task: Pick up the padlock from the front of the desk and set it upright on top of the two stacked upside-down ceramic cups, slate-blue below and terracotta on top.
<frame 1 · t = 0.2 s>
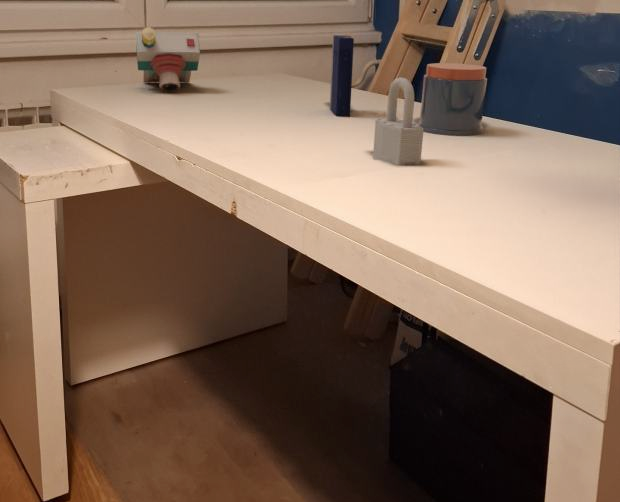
toy camera: (168, 89, 146), on the table
padlock: (395, 167, 91), on the table
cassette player: (339, 113, 125), on the table
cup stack: (449, 129, 114), on the table
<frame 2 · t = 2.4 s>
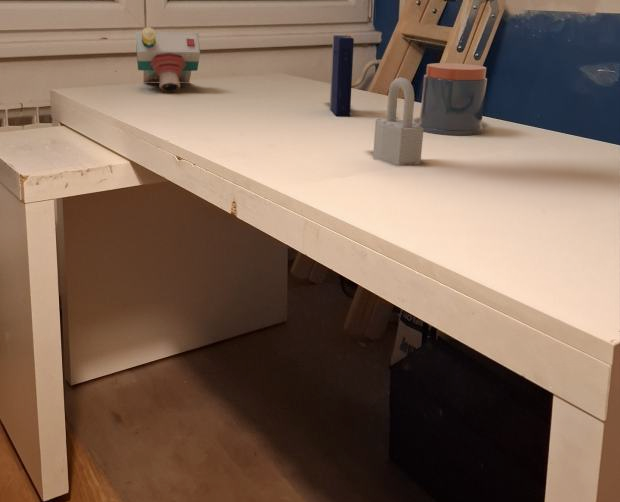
nothing on the table moved.
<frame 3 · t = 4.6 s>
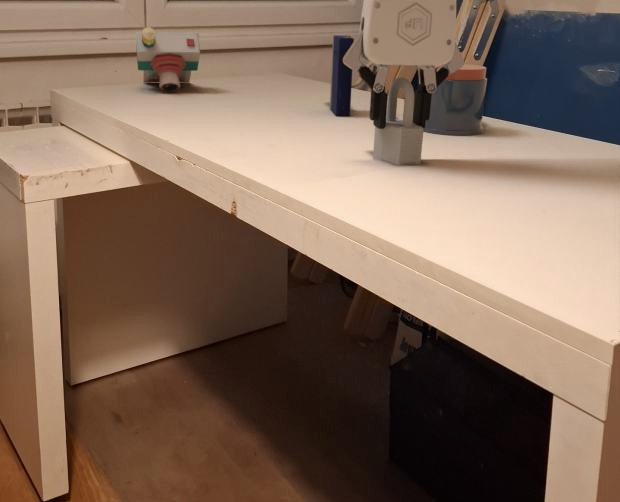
hand: (398, 125, 88), 5 cm above the table, tool pointing down, fingers closed on padlock, 4 cm apart
padlock: (395, 167, 91), on the table, touching gripper
everything else where it was.
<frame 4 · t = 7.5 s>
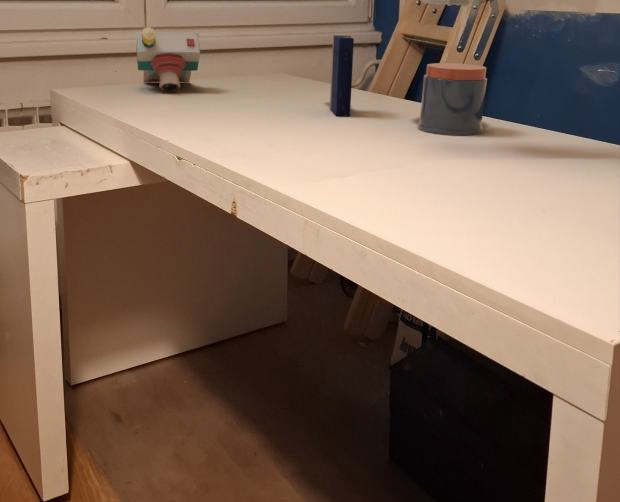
padlock: (444, 6, 96), point 17 cm above the table, touching gripper
everything else where it was.
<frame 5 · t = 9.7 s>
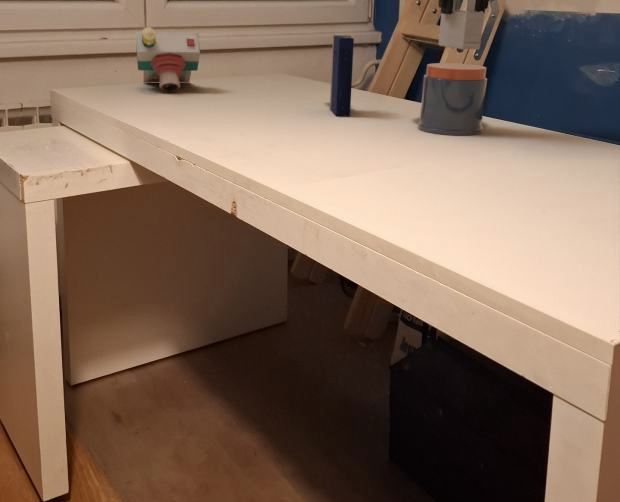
hand: (462, 12, 107), 16 cm above the table, tool pointing down, fingers closed on padlock, 4 cm apart
padlock: (458, 49, 109), point 11 cm above the table, touching gripper
everything else where it was.
when the fingers open (14 cm above the table, at t = 10.8 s): padlock stays where it is, resting on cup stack.
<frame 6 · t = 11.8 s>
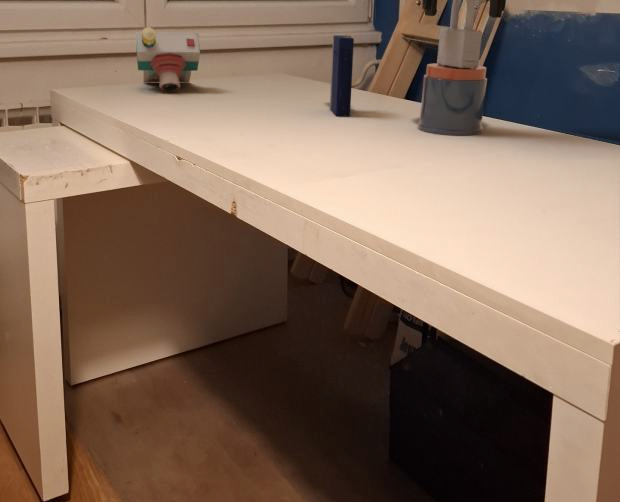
hand: (462, 16, 107), 16 cm above the table, tool pointing down, fingers open, 9 cm apart
padlock: (456, 67, 110), point 9 cm above the table, touching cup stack
everything else where it was.
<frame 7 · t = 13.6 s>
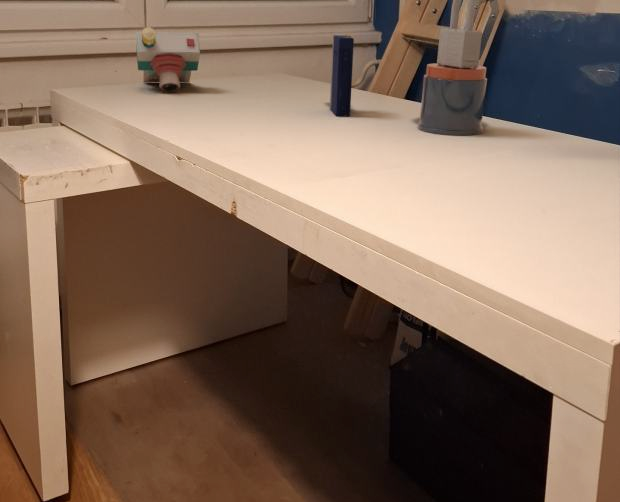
nothing on the table moved.
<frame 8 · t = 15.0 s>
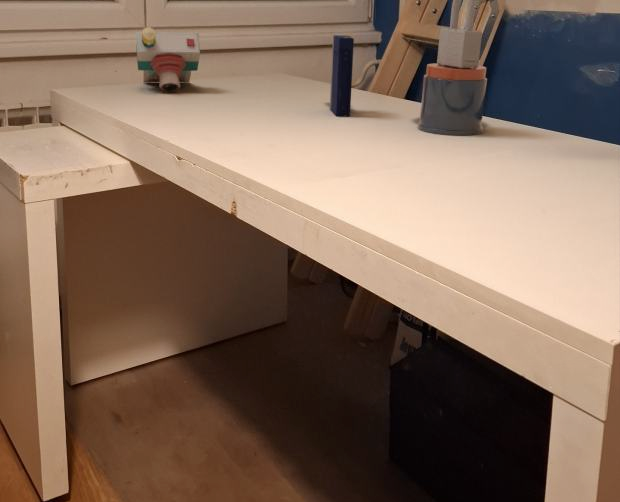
nothing on the table moved.
at the end: padlock 0.0 cm off-centre on the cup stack, point 8.8 cm above the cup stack's base; padlock tilted 0°; the gripper is holding nothing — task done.
